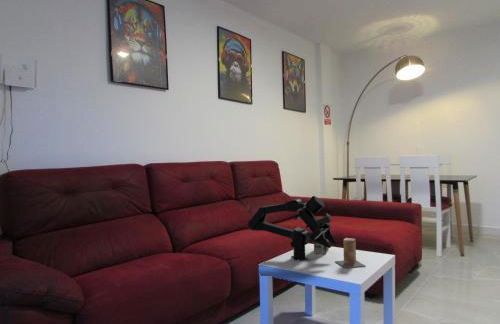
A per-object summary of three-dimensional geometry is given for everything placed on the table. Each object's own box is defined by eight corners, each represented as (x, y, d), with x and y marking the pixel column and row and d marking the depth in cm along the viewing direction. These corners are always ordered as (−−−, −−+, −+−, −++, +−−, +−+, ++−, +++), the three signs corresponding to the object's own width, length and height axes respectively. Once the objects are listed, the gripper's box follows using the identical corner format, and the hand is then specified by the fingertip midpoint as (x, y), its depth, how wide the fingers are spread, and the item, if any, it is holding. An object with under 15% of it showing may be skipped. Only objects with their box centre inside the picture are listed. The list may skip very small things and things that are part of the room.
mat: (335, 262, 167) (335, 261, 167) (354, 260, 168) (354, 259, 168) (344, 268, 157) (344, 267, 157) (365, 266, 159) (365, 265, 159)
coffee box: (326, 254, 180) (325, 222, 180) (313, 253, 182) (313, 221, 182) (329, 249, 188) (328, 219, 188) (316, 249, 191) (316, 218, 191)
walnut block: (343, 264, 162) (343, 239, 161) (346, 261, 166) (345, 237, 165) (354, 265, 159) (353, 240, 159) (356, 262, 163) (355, 238, 163)
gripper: (315, 211, 160) (340, 238, 155) (326, 206, 176) (349, 230, 171) (299, 227, 164) (323, 254, 159) (311, 221, 180) (333, 244, 175)
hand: (333, 245), depth 166 cm, fingers open, 9 cm apart
